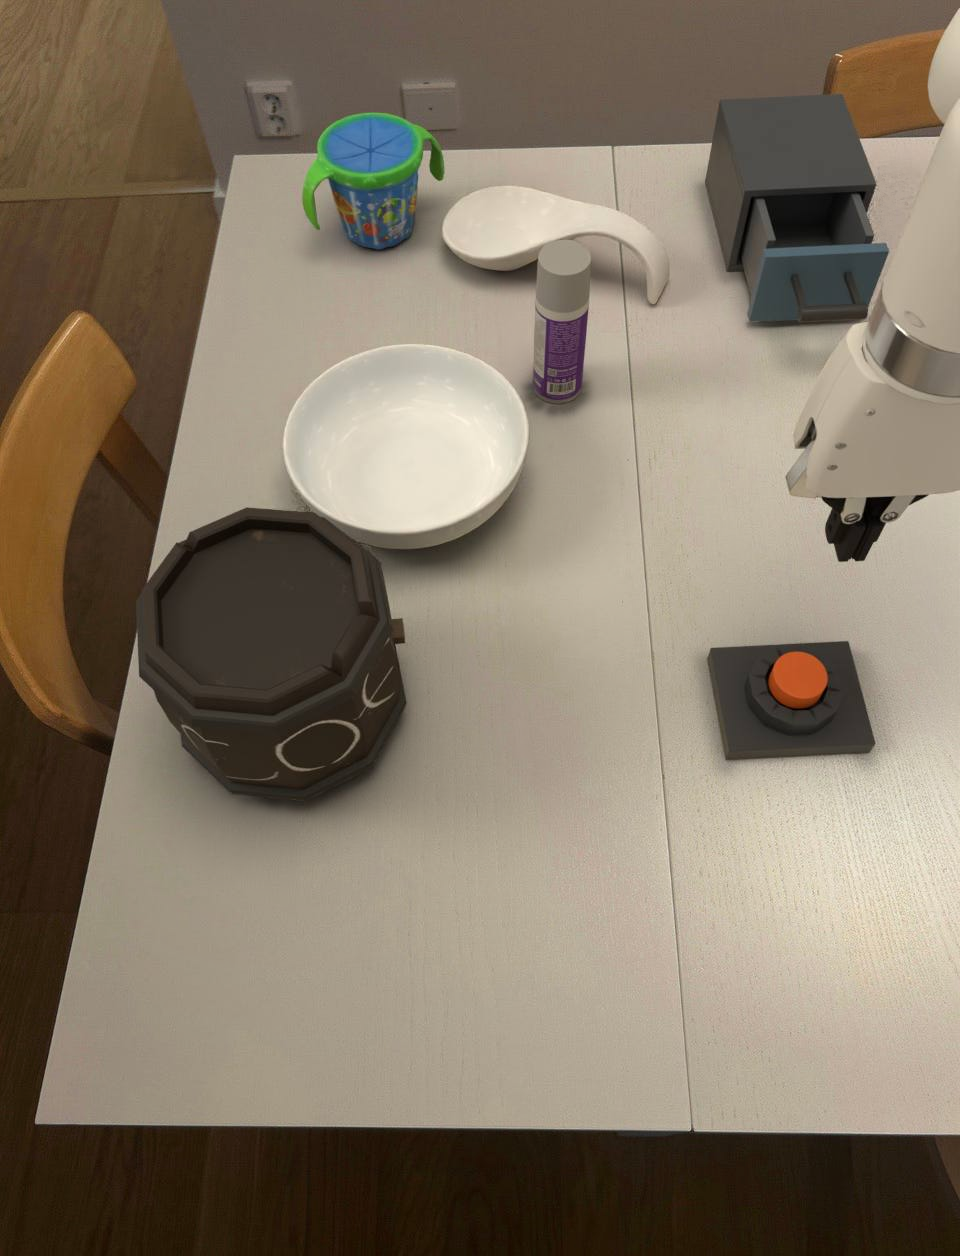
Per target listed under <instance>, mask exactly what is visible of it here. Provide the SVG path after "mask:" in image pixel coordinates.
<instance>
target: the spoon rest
mask: <svg viewBox="0 0 960 1256" xmlns="http://www.w3.org/2000/svg"><path fill="white" fill-rule="evenodd" d="M441 235H442V238H443V241H444V243H445V244H446V246H447V247H448V248H449V249H450V250H451V251H452V252H453V254H454V255H456V256H457V257H458V258H460V259H461V260H462V261H464V262H465V263H468V264H469V265H472V266H475V267H477V268H480V269H485V270H492V271H493V270H494V271H498V272H509V271H510V272H511V271H516V270H519V269H521V268H523V267H524V266H527V265H528V264H531V263H533V262H535V261H536V260H538V255H539V252H540V250H541V249H542V248H543V247H544V246H545V245H546V244H548V243H550V242H553V241H557V240H572V241H574V240H575V239H579V238H583V237H589V236H596V237H605V238H607V239H611V240H613V241H616V242H617V243H619V244H621V245H623V246H625V247H626V248H628V250H630V251H632V252H633V253H634V255H635V256H636V257H637V258H638V260H639V261H640V263H641V264H642V266H643V269H644V272H645V277H646V295H647V298H646V299H647V301H648V302H649V304H651V305H655V304H657V301H658V300H659V298H660V297H661V295H662V293H663V290H664V289H665V287H666V284H667V282H668V280H669V276H670V260H669V255H668V253H667V252H668V251H667V250H666V248H665V246H664V245H663V244H662V241H661V240H660V239H659V238H658V236H657V235H656V234H655V233H654V232H653V231H651V230H650V229H649V228H648V227H646V226H645V225H644V224H643V223H641V222H640V221H638V220H636V219H634V218H633V217H632V216H630V215H628V214H626V213H624V212H622V211H619V210H617V209H614V208H611V207H608V206H603V205H601V204H593V203H589V202H585V201H579V200H575V199H571V198H567V197H564V196H561V195H557V194H554V193H551V192H547V191H543V190H538V189H535V188H531V187H527V186H521V185H494V186H489V187H485V188H481V189H477V190H475V191H472V192H470V193H468V194H466V195H465V196H463V197H462V198H460V199H459V200H458V201H456V202H455V203H454V204H453V205H452V207H451V208H450V209H449V210H448V212H447V213H446V215H445V217H444V219H443V221H442V226H441Z"/></svg>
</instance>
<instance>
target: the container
mask: <svg viewBox="0 0 960 1256" xmlns="http://www.w3.org/2000/svg"><path fill="white" fill-rule="evenodd" d="M591 270H592V254H591V251H590V250H589V248H588V247H586V246H585V245H584V244H582V243H581V242H578V241H576V240H557V241H553V242H550V243H548V244H546V245H545V246H544V247H543V248H542V249H541V250H540V252H539V255H538V259H537V270H536V285H535V298H534V299H535V300H534V331H533V332H534V333H533V336H534V337H533V361H532V362H533V364H532V365H533V366H532V389H533V392H534V394H535V395H536V396H537V397H538V398H539V399H540V400H542V401H544V402H546V403H550V404H556V405H557V404H558V405H559V404H566V403H568V402H571V401H574V400H575V399H576V398H577V397H578V396H579V395H580V393H581V391H582V386H583V376H584V367H585V366H584V364H585V355H586V354H585V353H586V341H587V332H588V331H587V330H588V319H589V310H590V309H589V308H590V292H591V290H590V289H591V272H592V271H591Z"/></svg>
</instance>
